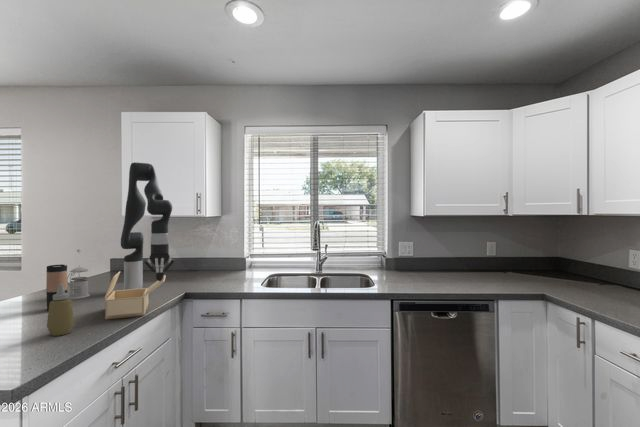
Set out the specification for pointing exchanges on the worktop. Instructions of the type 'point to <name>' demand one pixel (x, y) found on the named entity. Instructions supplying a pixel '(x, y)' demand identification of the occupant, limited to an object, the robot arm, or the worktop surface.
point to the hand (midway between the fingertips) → (159, 280)
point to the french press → (78, 284)
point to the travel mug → (55, 280)
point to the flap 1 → (112, 284)
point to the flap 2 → (155, 285)
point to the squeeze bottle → (60, 313)
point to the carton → (126, 303)
